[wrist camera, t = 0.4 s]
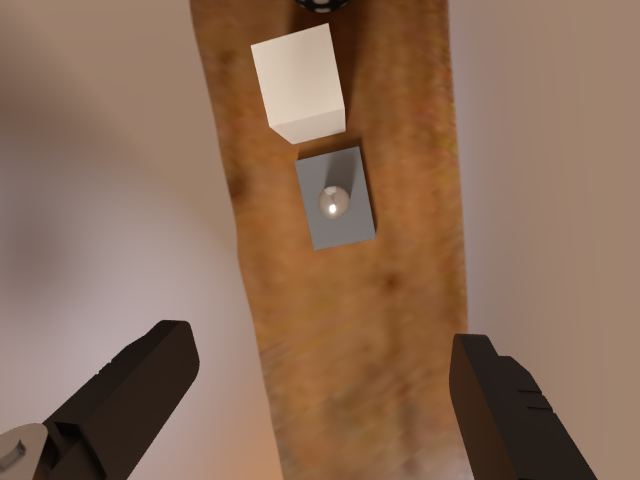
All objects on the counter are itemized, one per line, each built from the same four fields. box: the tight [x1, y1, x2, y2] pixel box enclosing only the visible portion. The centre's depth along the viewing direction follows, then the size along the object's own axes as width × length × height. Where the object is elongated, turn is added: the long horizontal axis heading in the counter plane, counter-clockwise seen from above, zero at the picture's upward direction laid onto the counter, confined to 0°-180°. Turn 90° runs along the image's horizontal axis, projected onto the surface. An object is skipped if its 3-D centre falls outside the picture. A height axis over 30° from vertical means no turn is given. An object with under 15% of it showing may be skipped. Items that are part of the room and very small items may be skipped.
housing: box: [251, 23, 346, 144], centre depth 28 cm, size 6×6×10 cm
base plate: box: [294, 146, 376, 250], centre depth 31 cm, size 10×7×6 cm
